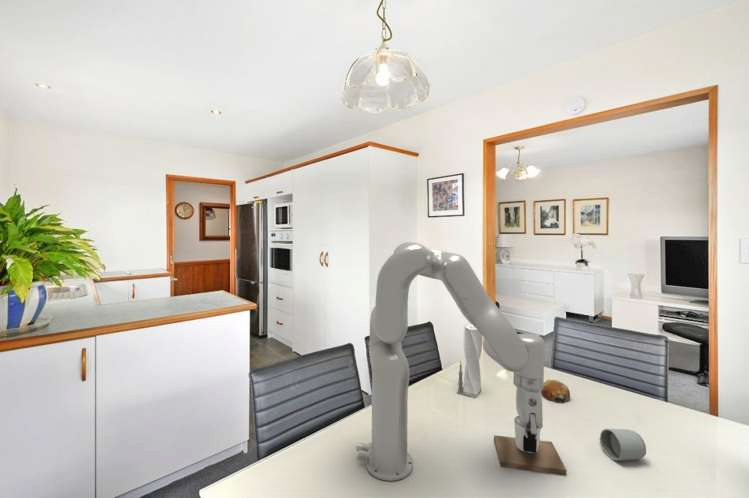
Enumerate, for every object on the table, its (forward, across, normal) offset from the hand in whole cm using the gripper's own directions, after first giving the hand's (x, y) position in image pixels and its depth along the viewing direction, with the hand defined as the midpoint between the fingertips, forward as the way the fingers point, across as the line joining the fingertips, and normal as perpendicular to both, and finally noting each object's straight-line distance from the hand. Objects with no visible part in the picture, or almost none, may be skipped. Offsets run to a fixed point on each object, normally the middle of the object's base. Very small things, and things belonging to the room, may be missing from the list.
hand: (526, 443), depth 93 cm
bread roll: (+4, +40, -19) cm, 44 cm away
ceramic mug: (+4, +6, -26) cm, 27 cm away
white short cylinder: (+1, 0, 0) cm, 1 cm away
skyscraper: (+4, +37, +12) cm, 39 cm away
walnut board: (+4, 0, 0) cm, 4 cm away
